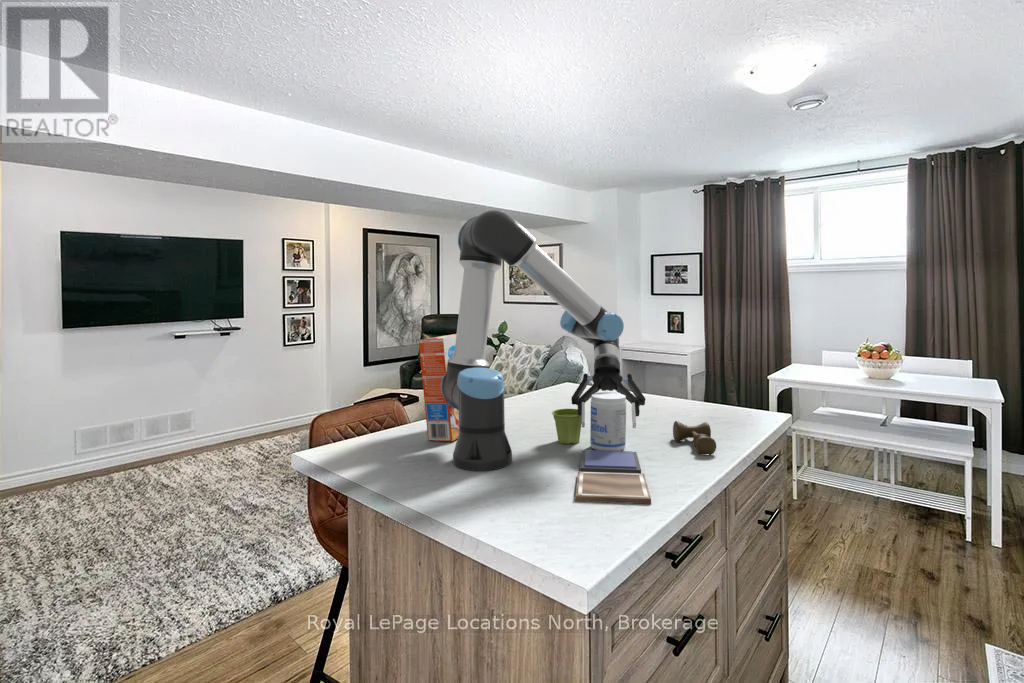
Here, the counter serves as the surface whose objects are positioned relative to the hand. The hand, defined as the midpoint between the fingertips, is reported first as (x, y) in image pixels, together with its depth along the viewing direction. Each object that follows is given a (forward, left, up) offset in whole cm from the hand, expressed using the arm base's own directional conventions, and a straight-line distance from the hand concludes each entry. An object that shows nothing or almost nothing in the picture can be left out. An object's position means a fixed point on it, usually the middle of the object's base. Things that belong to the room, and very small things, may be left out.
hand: (608, 425), depth 140 cm
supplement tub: (-2, +1, -7) cm, 7 cm away
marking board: (+22, -18, -7) cm, 29 cm away
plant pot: (-13, -4, -7) cm, 15 cm away
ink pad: (+9, -8, -7) cm, 14 cm away
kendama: (+10, +23, -7) cm, 26 cm away
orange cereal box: (-41, -26, -7) cm, 49 cm away
